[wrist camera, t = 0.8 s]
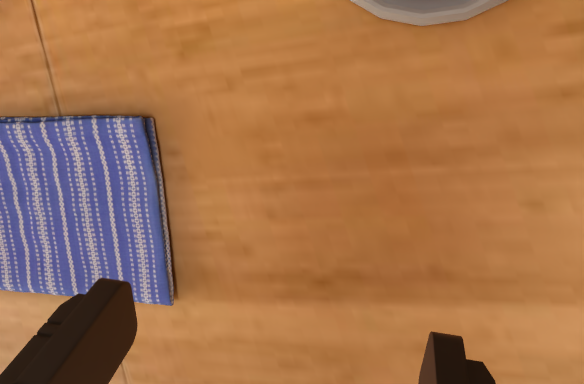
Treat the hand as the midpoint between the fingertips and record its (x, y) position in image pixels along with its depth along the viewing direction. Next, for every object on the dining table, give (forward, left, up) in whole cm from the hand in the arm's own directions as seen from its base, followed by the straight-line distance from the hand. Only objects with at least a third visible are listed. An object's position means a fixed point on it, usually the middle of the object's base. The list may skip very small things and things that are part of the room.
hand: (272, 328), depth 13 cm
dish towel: (+12, -27, -25) cm, 39 cm away
